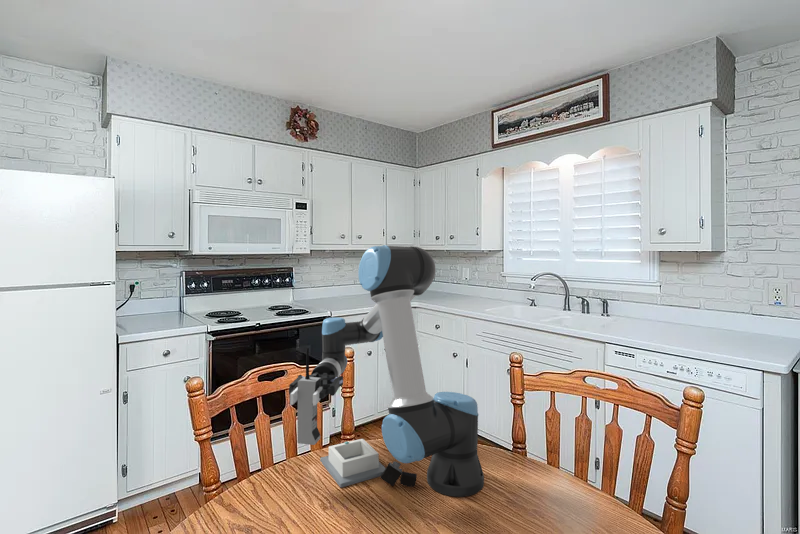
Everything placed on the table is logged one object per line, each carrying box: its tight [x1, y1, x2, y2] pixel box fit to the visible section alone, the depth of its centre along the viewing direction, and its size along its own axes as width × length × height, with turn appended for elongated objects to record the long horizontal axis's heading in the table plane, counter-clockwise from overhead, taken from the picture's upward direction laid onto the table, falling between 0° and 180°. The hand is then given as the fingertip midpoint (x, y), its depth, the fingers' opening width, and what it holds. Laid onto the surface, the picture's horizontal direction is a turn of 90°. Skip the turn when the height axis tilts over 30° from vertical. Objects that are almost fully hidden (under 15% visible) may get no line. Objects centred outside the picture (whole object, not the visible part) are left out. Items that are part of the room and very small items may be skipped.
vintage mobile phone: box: [296, 347, 321, 446], centre depth 108 cm, size 4×5×25 cm
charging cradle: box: [319, 438, 386, 488], centre depth 116 cm, size 16×14×5 cm
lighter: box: [379, 460, 418, 488], centre depth 108 cm, size 9×2×6 cm
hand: (302, 399), depth 103 cm, fingers closed on vintage mobile phone, 5 cm apart
